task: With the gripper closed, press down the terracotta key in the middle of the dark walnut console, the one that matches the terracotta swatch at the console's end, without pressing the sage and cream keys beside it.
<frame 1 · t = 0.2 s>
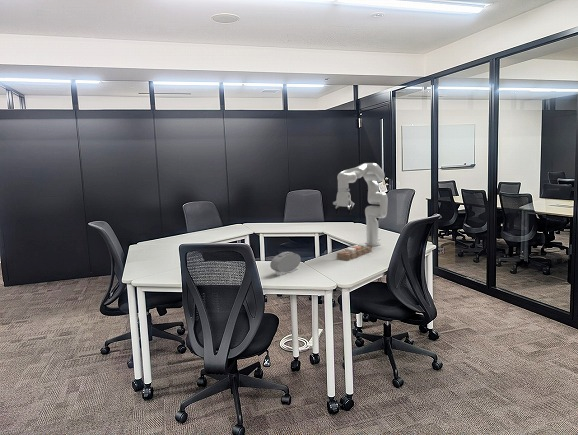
hand: (343, 214, 307), 30 cm above the table, tool pointing down, fingers open, 9 cm apart
alarm clock: (286, 272, 270), on the table
terracotta key: (356, 248, 312), point 4 cm above the table, slide at 0.0 cm
cream key: (351, 250, 306), point 4 cm above the table, slide at 0.0 cm
sage key: (362, 246, 318), point 4 cm above the table, slide at 0.0 cm
console: (356, 254, 313), on the table
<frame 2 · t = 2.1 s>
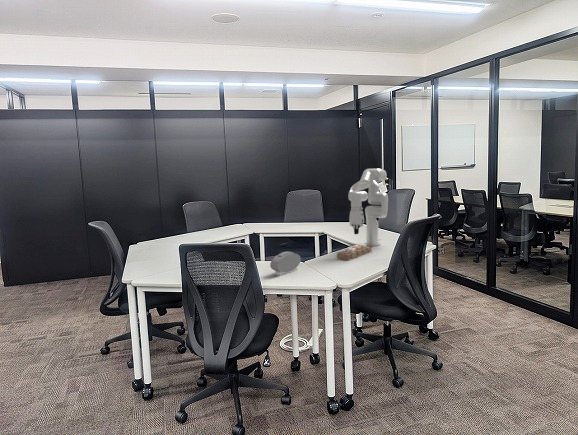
hand: (356, 233, 310), 15 cm above the table, tool pointing down, fingers closed
nothing on the table moved.
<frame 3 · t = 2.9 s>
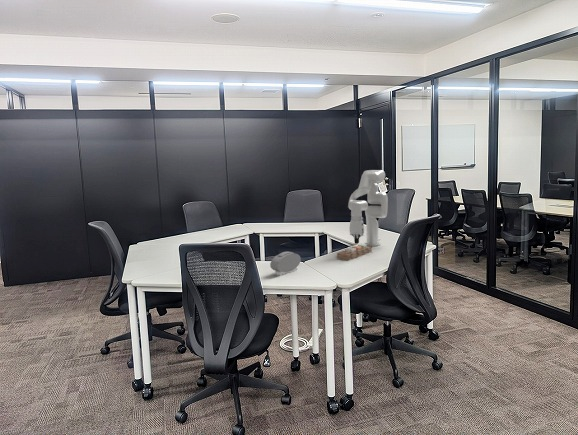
hand: (356, 243, 311), 8 cm above the table, tool pointing down, fingers closed
nothing on the table moved.
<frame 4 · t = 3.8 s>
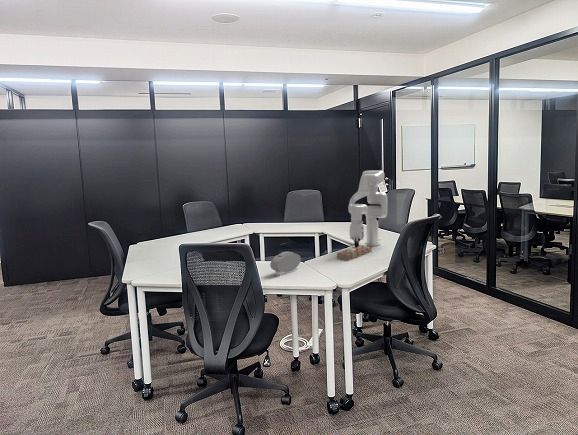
hand: (356, 247, 312), 6 cm above the table, tool pointing down, fingers closed
terracotta key: (356, 249, 312), point 4 cm above the table, slide at 0.2 cm, touching gripper
everything else where it was.
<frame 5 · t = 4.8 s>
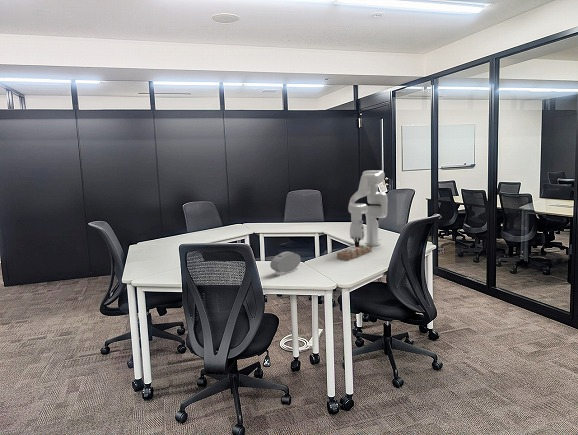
hand: (357, 246, 312), 6 cm above the table, tool pointing down, fingers closed
terracotta key: (356, 250, 312), point 3 cm above the table, slide at 1.2 cm
everything else where it was.
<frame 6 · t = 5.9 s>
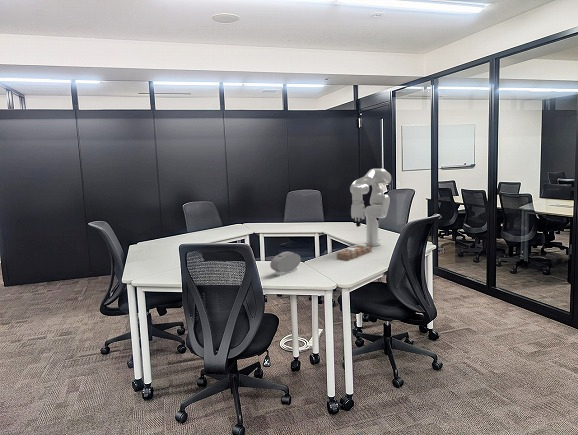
hand: (358, 226, 320), 19 cm above the table, tool pointing down, fingers closed
nothing on the table moved.
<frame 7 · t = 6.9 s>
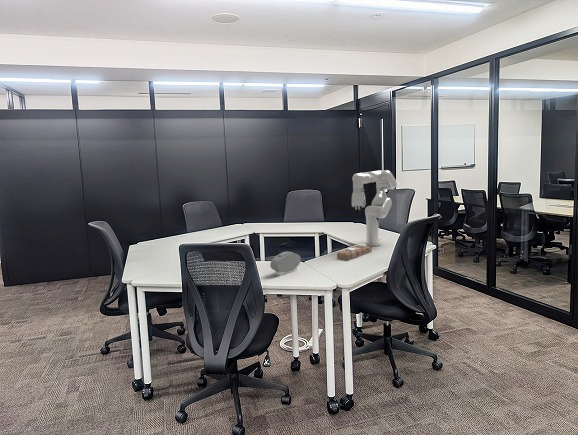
hand: (358, 214, 325), 27 cm above the table, tool pointing down, fingers closed
nothing on the table moved.
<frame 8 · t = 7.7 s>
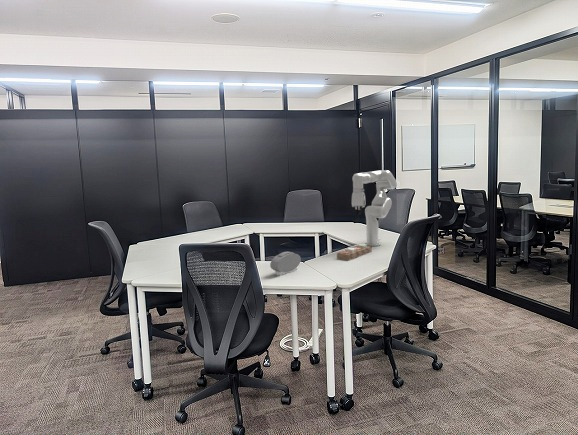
hand: (358, 214, 325), 27 cm above the table, tool pointing down, fingers closed
nothing on the table moved.
at the end: terracotta key slide at 1.2 cm; sage key slide at 0.0 cm; cream key slide at 0.0 cm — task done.
